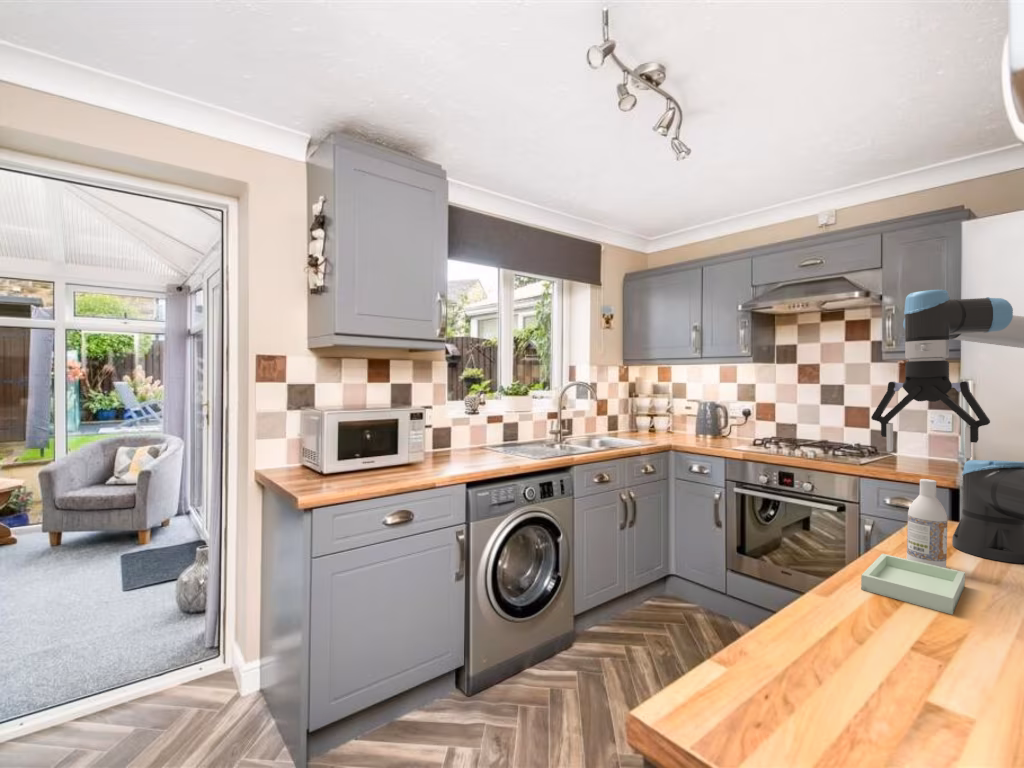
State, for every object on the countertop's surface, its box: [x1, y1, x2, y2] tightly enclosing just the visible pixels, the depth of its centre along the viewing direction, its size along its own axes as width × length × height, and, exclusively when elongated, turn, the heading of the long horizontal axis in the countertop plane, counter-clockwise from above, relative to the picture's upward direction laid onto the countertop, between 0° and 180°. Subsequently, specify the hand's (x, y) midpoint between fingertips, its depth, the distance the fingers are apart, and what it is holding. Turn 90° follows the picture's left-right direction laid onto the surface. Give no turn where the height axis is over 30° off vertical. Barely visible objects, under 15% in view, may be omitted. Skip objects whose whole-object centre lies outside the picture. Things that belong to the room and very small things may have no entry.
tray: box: [860, 553, 966, 616], centre depth 101 cm, size 18×14×3 cm
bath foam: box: [906, 478, 948, 568], centre depth 112 cm, size 7×7×20 cm
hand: (927, 454), depth 110 cm, fingers open, 13 cm apart
